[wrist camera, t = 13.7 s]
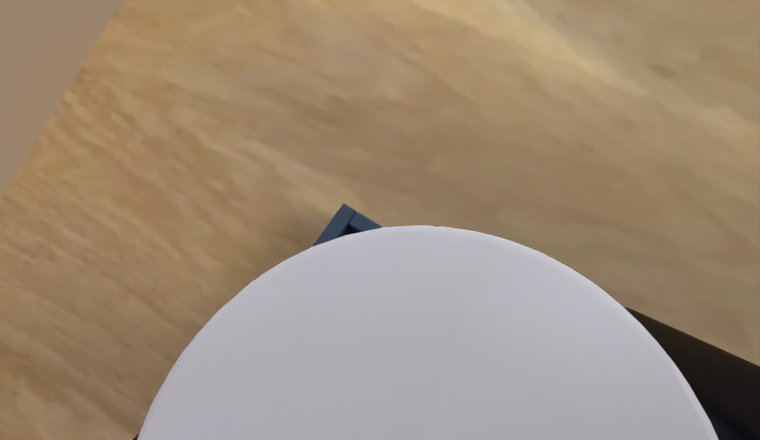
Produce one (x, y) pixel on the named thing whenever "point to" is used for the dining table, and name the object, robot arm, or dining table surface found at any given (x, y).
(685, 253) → the dining table surface
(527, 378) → the pill bottle
